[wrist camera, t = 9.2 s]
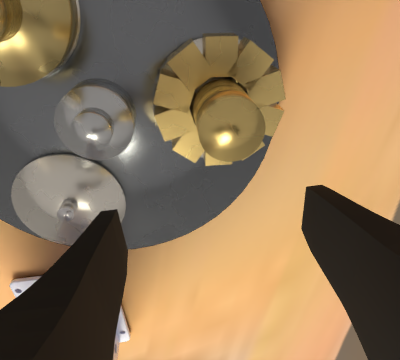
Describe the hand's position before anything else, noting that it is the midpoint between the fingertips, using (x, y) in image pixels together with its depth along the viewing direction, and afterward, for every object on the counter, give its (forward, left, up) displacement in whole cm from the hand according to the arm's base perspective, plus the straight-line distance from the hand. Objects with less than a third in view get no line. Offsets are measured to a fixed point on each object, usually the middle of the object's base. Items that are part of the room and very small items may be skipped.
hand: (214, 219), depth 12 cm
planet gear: (+2, -1, -8) cm, 9 cm away
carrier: (+2, +5, -10) cm, 11 cm away
